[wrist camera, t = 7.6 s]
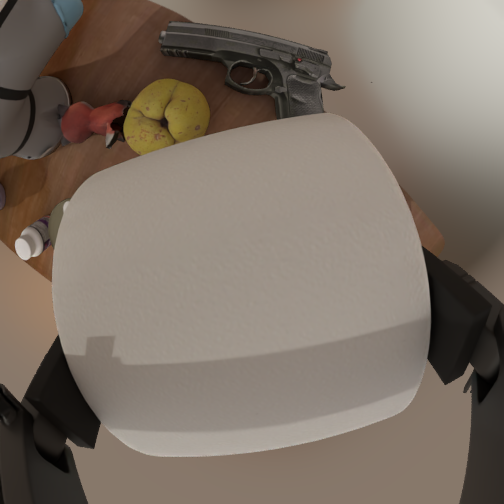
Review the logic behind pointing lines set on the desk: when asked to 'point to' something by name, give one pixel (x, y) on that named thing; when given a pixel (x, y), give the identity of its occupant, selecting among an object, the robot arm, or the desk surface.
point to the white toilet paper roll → (243, 290)
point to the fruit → (165, 116)
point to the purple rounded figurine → (2, 197)
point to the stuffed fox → (92, 122)
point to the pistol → (258, 63)
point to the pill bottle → (33, 239)
